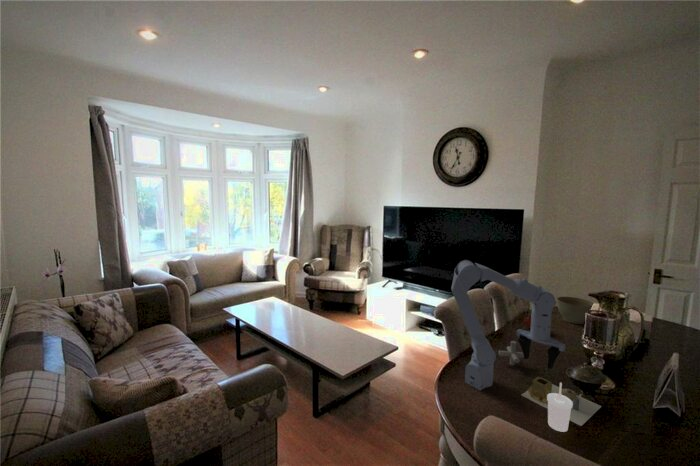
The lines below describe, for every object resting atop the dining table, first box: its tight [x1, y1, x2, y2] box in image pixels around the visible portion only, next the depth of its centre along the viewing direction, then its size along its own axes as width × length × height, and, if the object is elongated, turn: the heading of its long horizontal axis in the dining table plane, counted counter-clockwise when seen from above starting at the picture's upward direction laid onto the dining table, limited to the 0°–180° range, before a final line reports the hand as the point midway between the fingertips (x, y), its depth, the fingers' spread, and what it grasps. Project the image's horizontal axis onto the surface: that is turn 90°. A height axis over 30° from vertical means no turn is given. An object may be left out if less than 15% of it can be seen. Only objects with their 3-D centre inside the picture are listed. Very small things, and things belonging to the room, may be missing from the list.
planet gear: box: [527, 376, 553, 403], centre depth 102 cm, size 7×7×5 cm
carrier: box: [521, 383, 602, 427], centre depth 100 cm, size 15×17×4 cm
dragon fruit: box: [521, 315, 531, 329], centre depth 154 cm, size 8×8×12 cm
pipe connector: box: [498, 340, 524, 366], centre depth 121 cm, size 10×10×10 cm
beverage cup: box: [547, 381, 573, 433], centre depth 88 cm, size 6×6×14 cm
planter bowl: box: [556, 296, 595, 325], centre depth 165 cm, size 16×16×11 cm
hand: (538, 362), depth 106 cm, fingers open, 7 cm apart
